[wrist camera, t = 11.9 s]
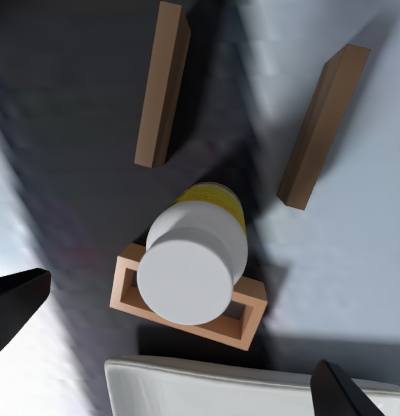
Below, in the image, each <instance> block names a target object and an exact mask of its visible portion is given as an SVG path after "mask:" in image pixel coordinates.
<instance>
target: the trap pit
mask: <svg viewBox="0 0 400 416" xmlns="http://www.w3.org/2000/svg"><path fill="white" fill-rule="evenodd" d="M145 253H146V247H144V246H141V245H137V244H134V243H131V244H130V245H129V246H128V247H127V248H126V249H125V250H124V251H122V252H121V253H120V254H119V255H118V258H117V265H116V271H115V277H114V283H113V289H112V296H111V302H110V307H112V308H115V309H118V310H121V311H124V312H128V313H131V314H134V315H137V316H140V317H143V318H146V319H149V320H152V321H156V322H159V323H162V324H165V325H168V326H171V327H174V328H177V329H180V330H184V331H187V332H190V333H193V334H196V335H199V336H202V337H205V338H208V339H212V340H215V341H218V342H221V343H224V344H227V345H230V346H233V347H236V348H240V349H243V350H246V351H248V348H249V346H250V344H251V341H252V339H253V336H254V334H255V332H256V329H257V327H258V324H259V322H260V320H261V317H262V315H263V312H264V310H265V308H266V305H267V303H268V300H267V296H266V292H265V287H264V283H263V282H260V281H257V280H254V279H250V278H247V277H244V276H241V277H240V279H239V280H238V281H237V282H236V284H235V285H234V288H233V295H232V298H231V301H230V303H229V305H228V306H227V308H226V309H225V310H224V312H223V313H222V314H221V315H219V316H218V317H217V318H215V319H213V320H211V321H209V322H207V323H203V324H199V325H182V324H177V323H174V322H171V321H168V320H166V319H164V318H162V317H161V316H159V315H158V314H156V313H155V312H154V311H153V310H152V309H151V308H149V306H148V305H147V304H146V303H145V301H144V299H143V298H142V296H141V294H140V291H139V288H138V284H137V271H138V267H139V264H140V261H141V259H142V257H143V256H144V254H145Z"/></svg>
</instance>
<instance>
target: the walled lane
mask: <svg viewBox="0 0 400 416" xmlns="http://www.w3.org/2000/svg"><path fill="white" fill-rule="evenodd" d="M190 36H191V31H190V28H189V25H188V22H187V19H186V17H185V14H184V11H183V8H182V6H181V5H176V4H172V3H168V2H163V1H161V2H160V8H159V14H158V20H157V26H156V32H155V38H154V45H153V51H152V57H151V63H150V69H149V75H148V81H147V88H146V94H145V100H144V106H143V112H142V118H141V124H140V131H139V137H138V143H137V149H136V155H135V161H134V163H135V164H139V165H142V166H146V167H150V168H153V167H157V166H160V165H164V164H165V159H166V154H167V149H168V144H169V139H170V134H171V130H172V125H173V120H174V115H175V110H176V105H177V100H178V95H179V90H180V85H181V80H182V75H183V71H184V66H185V61H186V56H187V51H188V46H189V41H190ZM370 51H371V49H367V48H363V47H359V46H354V45H350V44H347V45H346V46H345V47H344V48H343V49H341V50H340V51H339V52H338V53H337V54H336V55H335V56H333V57H332V58H331V59H330V60H329V61H328V62H327V63H325V65H324V67H323V70H322V73H321V76H320V78H319V81H318V84H317V86H316V89H315V92H314V95H313V97H312V100H311V103H310V105H309V108H308V111H307V114H306V116H305V119H304V122H303V125H302V127H301V130H300V133H299V135H298V138H297V141H296V144H295V146H294V149H293V152H292V154H291V157H290V160H289V163H288V165H287V168H286V171H285V174H284V176H283V179H282V182H281V184H280V187H279V190H278V193H277V196H278V198H279V199H280V200H281V201H282V202H283V203H284V204H285V205H286V206H290V207H293V208H297V209H301V210H305V207H306V205H307V203H308V200H309V198H310V195H311V193H312V190H313V188H314V186H315V183H316V181H317V178H318V176H319V174H320V171H321V169H322V166H323V164H324V162H325V159H326V157H327V154H328V152H329V149H330V147H331V145H332V142H333V140H334V137H335V135H336V133H337V130H338V128H339V125H340V123H341V121H342V118H343V116H344V113H345V111H346V108H347V106H348V104H349V101H350V99H351V96H352V94H353V92H354V89H355V87H356V84H357V82H358V80H359V77H360V75H361V72H362V70H363V67H364V65H365V63H366V60H367V58H368V55H369V53H370Z"/></svg>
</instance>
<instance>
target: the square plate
mask: <svg viewBox="0 0 400 416" xmlns="http://www.w3.org/2000/svg"><path fill="white" fill-rule="evenodd" d="M105 374H106V380H107V386H108V391H109V397H110V402H111V407H112V412H113V416H315V415H314V409H313V402H312V395H311V389H310V379H311V376H312V375H308V374H298V373H289V372H280V371H271V370H262V369H253V368H244V367H236V366H229V365H222V364H214V363H208V362H201V361H194V360H187V359H179V358H171V357H160V356H147V355H125V356H119V357H112V358H108V359H107V360H106V361H105ZM351 379H352V380H353V381H354V382H355V383H356V384H357V386H358V387H359V388H360V389H361V390H362V391H363V392H364V393H365V394H366V395H367V396H368V397H369V399H370V400H371V401H372V402H373V403H374V404H375V405H376V406H377V407H378V408H379V409H380V410H381V411H382V413H383V414H384V415H385V416H400V386H399V385H395V384H389V383H383V382H377V381H370V380H363V379H353V378H351Z"/></svg>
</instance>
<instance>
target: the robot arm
mask: <svg viewBox="0 0 400 416" xmlns="http://www.w3.org/2000/svg"><path fill="white" fill-rule="evenodd" d="M50 284H51V273H50V272H49V271H47V270H44V269H41V268H35V269H31V270H27V271H23V272H19V273H15V274H11V275H7V276H3V277H0V351H1V350H2V349H3V348H4V347H5V346H6V345H7V344H8V343H9V342H10V341H11V340H12V339H13V338H14V336H15V335H16V334H17V333H18V332H19V331H20V329H21V328H22V327H23V326H24V325H25V324H26V322H27V321H28V320H29V319H30V318H31V317H32V315H33V314H34V313H35V312H36V311H37V310H38V308H39V307H40V306H41V305H42V304H43V303H44V301H45V300H46V299H47V298H48V296H49V293H50ZM310 389H311V395H312V402H313V409H314V415H315V416H385V415H384V414H383V413H382V411H381V410H380V409H379V408H378V407H377V406H376V405H375V404H374V403H373V402H372V401H371V400H370V399H369V397H368V396H367V395H366V394H365V393H364V392H363V391H362V390H361V389H360V388H359V387H358V386H357V384H356V383H355V382H354V381H353V380H352V379H351V378H350V377H349V376H348V375H347V374H346V373H345V371H344V370H343V369H342V368H341V367H340V366H339V365H338V364H337V363H335V362H332V361H328V360H325V359H322V360H321V361H320V362H319V364H318V365H317V367H316V369H315V371H314V373H313V374H312V376H311V379H310Z"/></svg>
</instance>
